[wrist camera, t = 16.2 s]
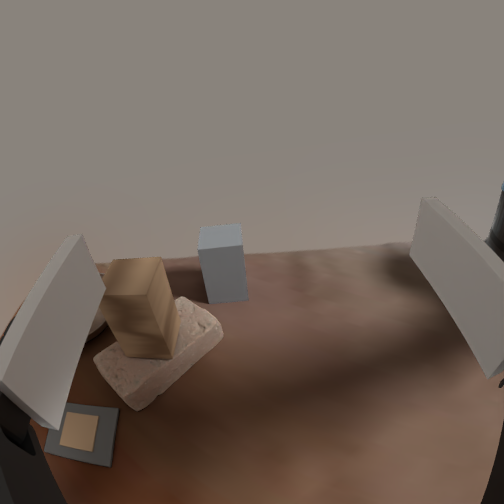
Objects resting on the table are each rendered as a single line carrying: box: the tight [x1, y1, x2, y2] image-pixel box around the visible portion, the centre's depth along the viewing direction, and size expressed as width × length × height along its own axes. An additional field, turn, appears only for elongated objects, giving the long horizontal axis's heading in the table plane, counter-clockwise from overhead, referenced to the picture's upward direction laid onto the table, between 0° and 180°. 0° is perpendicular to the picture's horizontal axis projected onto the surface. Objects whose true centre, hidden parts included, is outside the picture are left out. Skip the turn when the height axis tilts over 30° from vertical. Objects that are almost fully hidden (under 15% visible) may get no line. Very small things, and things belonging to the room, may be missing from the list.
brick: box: [93, 296, 224, 411], centre depth 36 cm, size 16×8×5 cm, turn 141°
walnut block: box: [99, 257, 181, 359], centre depth 31 cm, size 6×6×10 cm
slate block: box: [198, 223, 248, 304], centre depth 45 cm, size 6×6×10 cm
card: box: [44, 402, 120, 467], centre depth 26 cm, size 10×8×1 cm
